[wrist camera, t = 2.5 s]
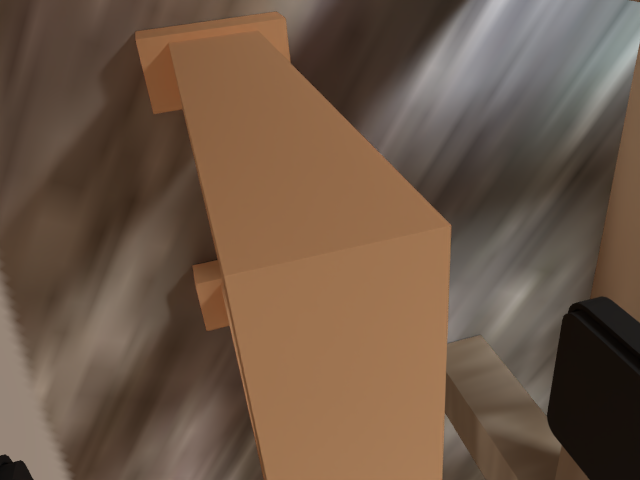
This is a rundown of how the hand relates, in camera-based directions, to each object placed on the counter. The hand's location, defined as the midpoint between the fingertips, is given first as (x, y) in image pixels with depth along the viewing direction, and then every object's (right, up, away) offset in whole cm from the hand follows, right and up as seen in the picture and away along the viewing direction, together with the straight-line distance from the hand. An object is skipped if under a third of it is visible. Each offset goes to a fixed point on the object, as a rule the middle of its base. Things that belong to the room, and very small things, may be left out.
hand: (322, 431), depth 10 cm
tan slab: (-3, +5, +9) cm, 11 cm away
